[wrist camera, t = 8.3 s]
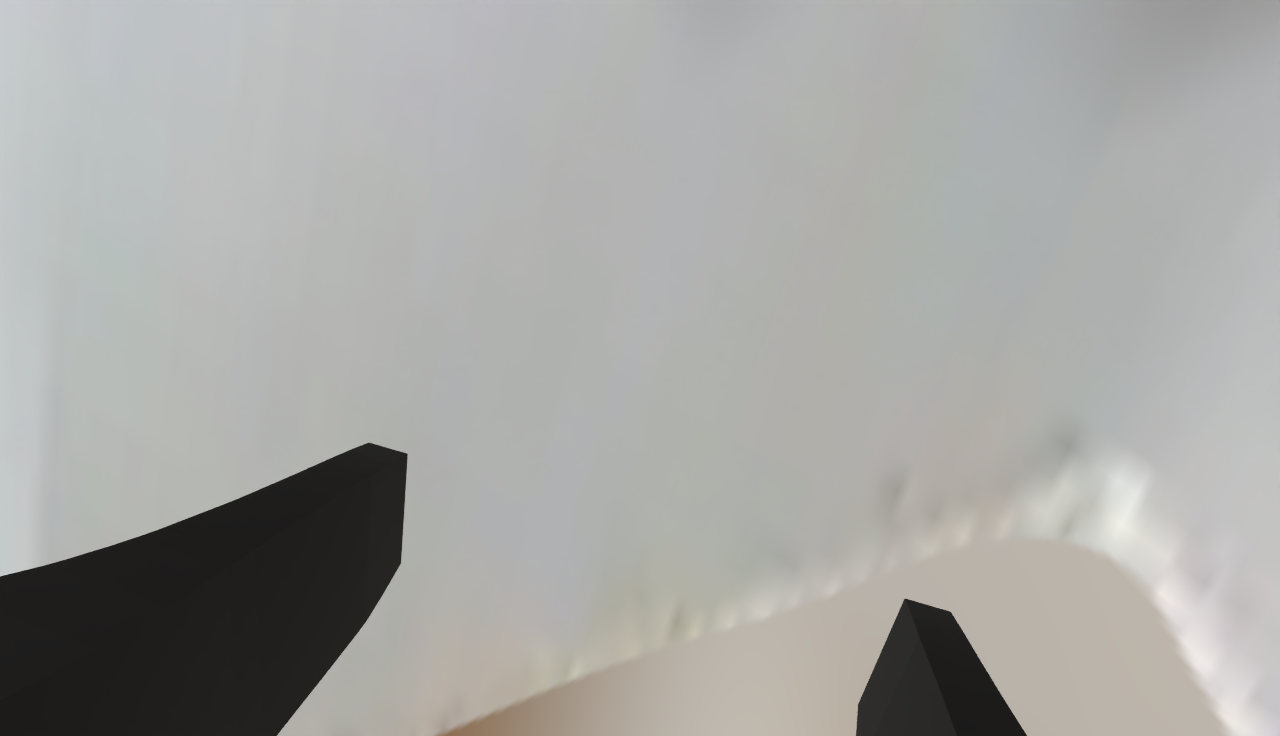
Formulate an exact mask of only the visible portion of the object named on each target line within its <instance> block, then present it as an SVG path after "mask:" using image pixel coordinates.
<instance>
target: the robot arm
mask: <svg viewBox="0 0 1280 736" xmlns="http://www.w3.org/2000/svg"><path fill="white" fill-rule="evenodd" d="M407 455H408V454H406V453H403V452H399V451H396V450H392V449H389V448H385V447H382V446H379V445H375V444H372V443H367V444H364V445H362V446H359V447H357V448H354V449H352V450H349V451H347V452H344V453H342V454H340V455H338V456H335V457H333V458H331V459H328V460H326V461H324V462H322V463H319V464H317V465H315V466H313V467H310V468H308V469H306V470H304V471H301V472H299V473H297V474H295V475H292V476H290V477H288V478H285V479H283V480H281V481H278V482H276V483H274V484H271V485H269V486H267V487H265V488H262V489H260V490H258V491H255V492H253V493H251V494H248V495H246V496H244V497H241V498H239V499H237V500H234V501H232V502H229V503H227V504H224V505H221V506H219V507H216V508H214V509H211V510H208V511H206V512H203V513H201V514H198V515H195V516H193V517H190V518H188V519H185V520H183V521H180V522H177V523H175V524H172V525H170V526H167V527H164V528H162V529H159V530H157V531H154V532H151V533H148V534H145V535H142V536H139V537H136V538H133V539H130V540H127V541H124V542H121V543H118V544H115V545H112V546H109V547H106V548H102V549H99V550H96V551H93V552H89V553H86V554H83V555H79V556H76V557H73V558H70V559H66V560H63V561H59V562H56V563H52V564H49V565H45V566H41V567H37V568H33V569H29V570H25V571H21V572H17V573H13V574H9V575H5V576H1V577H0V736H277V735H278V733H279V732H280V731H281V729H282V728H283V727H284V726H285V724H286V723H287V722H288V721H289V719H290V718H291V717H292V716H293V714H294V713H295V712H296V711H297V709H298V708H299V707H300V705H301V704H302V703H303V702H304V700H305V699H306V698H307V697H308V695H309V694H310V693H311V692H312V690H313V689H314V688H315V687H316V685H317V684H318V683H319V681H320V680H321V679H322V678H323V676H324V675H325V674H326V673H327V671H328V670H329V669H330V668H331V666H332V665H333V664H334V662H335V661H336V660H337V659H338V657H339V656H340V655H341V653H342V652H343V651H344V650H345V648H346V647H347V646H348V644H349V643H350V642H351V641H352V639H353V638H354V637H355V635H356V634H357V633H358V632H359V630H360V629H361V628H362V626H363V625H364V624H365V622H366V621H367V619H368V618H369V616H370V614H371V613H372V611H373V609H374V608H375V606H376V605H377V603H378V601H379V600H380V598H381V597H382V595H383V593H384V591H385V590H386V588H387V586H388V585H389V583H390V581H391V579H392V578H393V576H394V574H395V572H396V571H397V569H398V567H399V566H400V564H401V552H402V536H403V520H404V503H405V487H406V471H407ZM856 736H1027V735H1026V733H1025V732H1024V730H1023V729H1022V727H1021V726H1020V724H1019V722H1018V721H1017V719H1016V718H1015V716H1014V715H1013V713H1012V712H1011V710H1010V708H1009V707H1008V705H1007V704H1006V702H1005V700H1004V699H1003V697H1002V696H1001V694H1000V692H999V691H998V689H997V687H996V686H995V684H994V682H993V681H992V679H991V677H990V676H989V674H988V672H987V671H986V669H985V668H984V666H983V664H982V663H981V661H980V659H979V658H978V656H977V654H976V653H975V651H974V649H973V648H972V646H971V644H970V643H969V641H968V639H967V638H966V636H965V634H964V633H963V631H962V629H961V628H960V626H959V624H958V623H957V621H956V620H955V618H954V616H953V615H952V613H951V612H949V611H946V610H943V609H939V608H935V607H932V606H929V605H925V604H922V603H918V602H915V601H912V600H908V599H904V601H903V604H902V606H901V608H900V611H899V613H898V616H897V618H896V620H895V622H894V624H893V627H892V629H891V631H890V633H889V636H888V638H887V640H886V643H885V645H884V647H883V649H882V652H881V654H880V656H879V658H878V661H877V663H876V665H875V668H874V670H873V672H872V674H871V677H870V679H869V681H868V683H867V686H866V688H865V690H864V693H863V695H862V697H861V700H860V702H859V704H858V716H857V732H856Z"/></svg>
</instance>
